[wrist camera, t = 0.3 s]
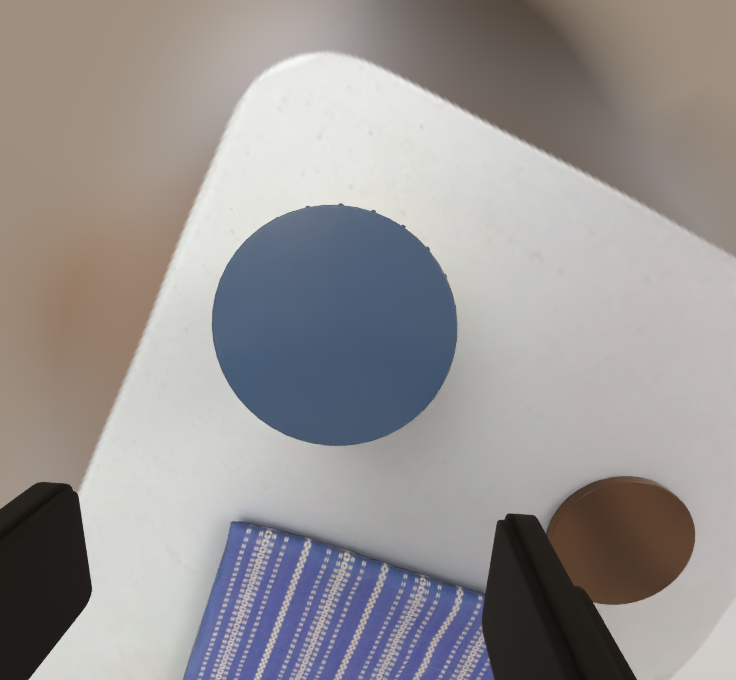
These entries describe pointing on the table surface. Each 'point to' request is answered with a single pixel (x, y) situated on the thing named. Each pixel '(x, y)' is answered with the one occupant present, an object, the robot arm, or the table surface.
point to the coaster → (622, 539)
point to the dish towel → (331, 617)
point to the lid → (334, 325)
